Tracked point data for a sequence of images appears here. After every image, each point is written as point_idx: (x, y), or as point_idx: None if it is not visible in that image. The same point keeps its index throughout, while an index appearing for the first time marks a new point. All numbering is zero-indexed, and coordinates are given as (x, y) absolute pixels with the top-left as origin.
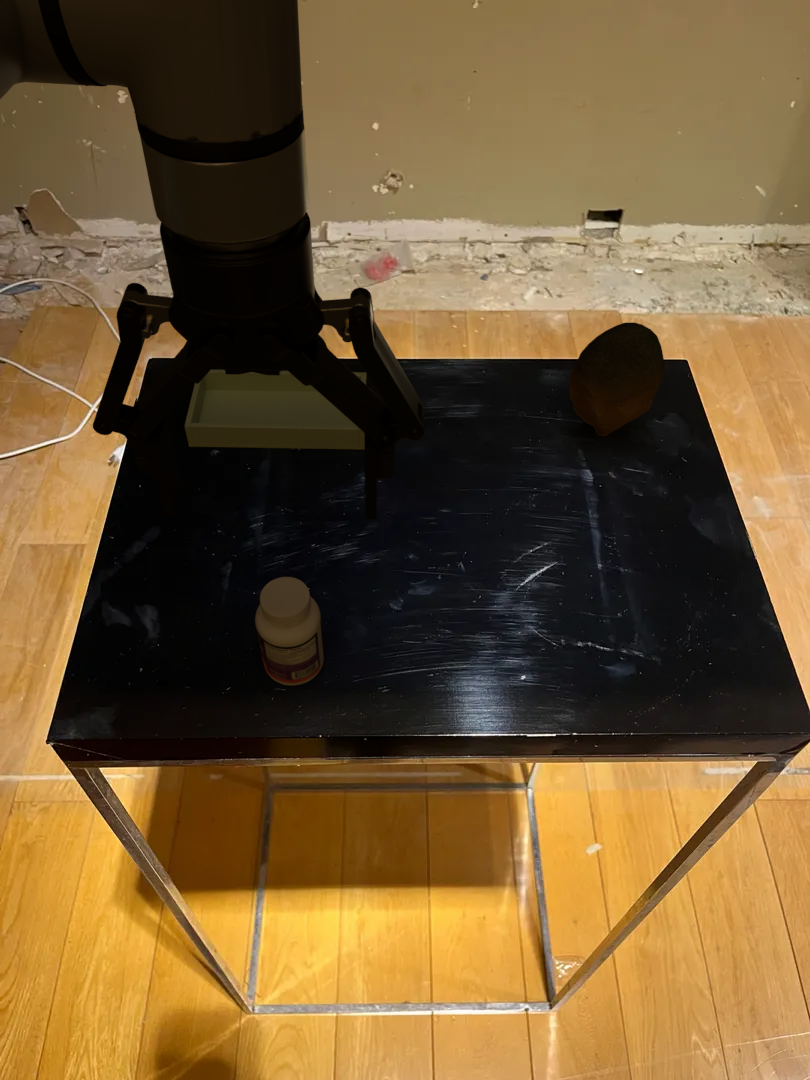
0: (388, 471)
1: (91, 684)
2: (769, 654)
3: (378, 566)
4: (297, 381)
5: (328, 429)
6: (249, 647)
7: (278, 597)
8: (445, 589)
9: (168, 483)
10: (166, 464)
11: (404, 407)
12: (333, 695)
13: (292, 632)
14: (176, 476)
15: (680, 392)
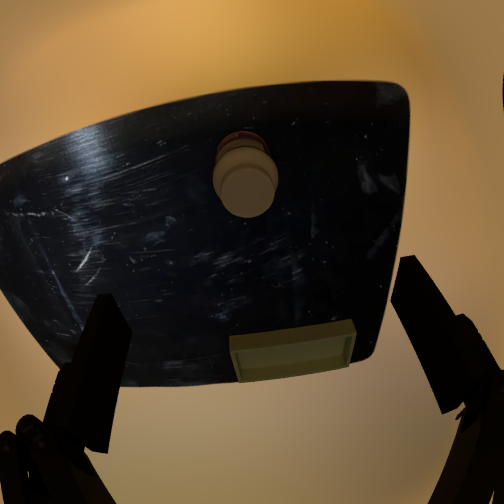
0: (64, 374)
1: (397, 123)
2: None
3: (193, 250)
4: (284, 371)
5: (255, 348)
6: (283, 163)
7: (254, 191)
8: (137, 239)
9: (431, 307)
10: (440, 340)
11: (7, 494)
12: (201, 129)
13: (235, 160)
14: (408, 317)
15: None
